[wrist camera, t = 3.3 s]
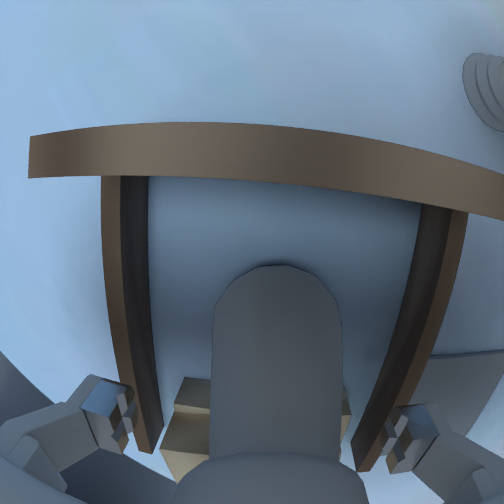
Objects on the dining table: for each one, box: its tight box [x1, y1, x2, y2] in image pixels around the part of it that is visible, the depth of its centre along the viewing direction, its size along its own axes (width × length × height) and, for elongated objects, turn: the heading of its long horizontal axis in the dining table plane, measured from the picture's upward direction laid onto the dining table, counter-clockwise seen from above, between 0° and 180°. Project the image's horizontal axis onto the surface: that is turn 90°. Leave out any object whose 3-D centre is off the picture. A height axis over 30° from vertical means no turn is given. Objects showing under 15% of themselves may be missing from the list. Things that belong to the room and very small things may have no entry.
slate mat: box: [380, 350, 504, 456], centre depth 17 cm, size 10×10×1 cm
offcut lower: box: [174, 377, 351, 444], centre depth 17 cm, size 10×6×3 cm, turn 88°
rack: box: [28, 122, 504, 472], centre depth 12 cm, size 16×19×8 cm
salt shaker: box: [170, 265, 369, 504], centre depth 9 cm, size 6×6×13 cm
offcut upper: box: [159, 412, 341, 484], centre depth 14 cm, size 9×5×3 cm, turn 95°
